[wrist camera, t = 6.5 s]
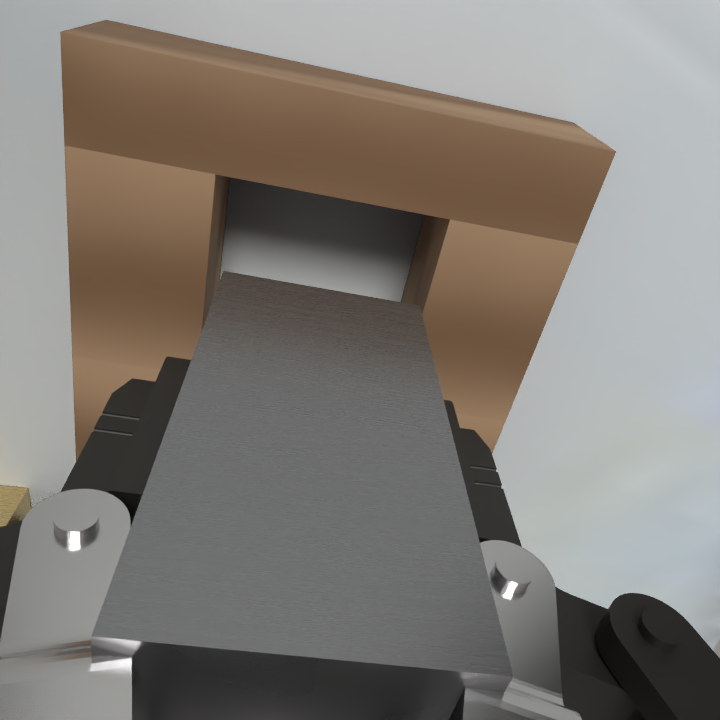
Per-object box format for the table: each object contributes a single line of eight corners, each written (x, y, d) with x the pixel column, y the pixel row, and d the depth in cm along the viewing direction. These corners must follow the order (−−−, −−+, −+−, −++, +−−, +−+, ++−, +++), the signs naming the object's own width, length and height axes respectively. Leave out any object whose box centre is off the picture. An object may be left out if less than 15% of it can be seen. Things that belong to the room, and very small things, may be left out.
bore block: (106, 19, 15) (60, 31, 13) (573, 122, 17) (615, 151, 14) (107, 537, 24) (81, 604, 22) (408, 571, 26) (417, 636, 24)
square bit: (223, 270, 12) (90, 635, 6) (419, 305, 13) (513, 677, 6) (205, 429, 14) (93, 838, 8) (376, 453, 15) (412, 854, 8)
